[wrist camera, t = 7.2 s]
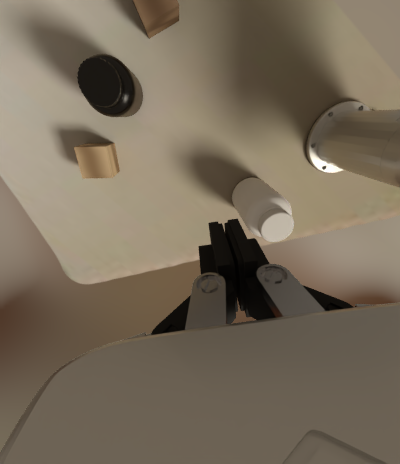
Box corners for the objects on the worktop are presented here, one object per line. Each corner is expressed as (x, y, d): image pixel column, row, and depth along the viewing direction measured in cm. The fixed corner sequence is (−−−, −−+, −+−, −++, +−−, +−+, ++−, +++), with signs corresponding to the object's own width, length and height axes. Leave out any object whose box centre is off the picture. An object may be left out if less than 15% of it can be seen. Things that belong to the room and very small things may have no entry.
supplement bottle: (120, 125, 36) (96, 128, 26) (91, 83, 33) (51, 68, 23) (152, 102, 35) (141, 96, 25) (126, 57, 32) (100, 28, 22)
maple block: (114, 143, 38) (106, 146, 33) (119, 170, 40) (112, 177, 36) (86, 143, 37) (73, 147, 33) (93, 171, 40) (82, 178, 35)
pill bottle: (233, 215, 47) (254, 254, 34) (228, 181, 43) (250, 210, 30) (268, 207, 47) (302, 243, 34) (266, 172, 43) (304, 197, 30)
